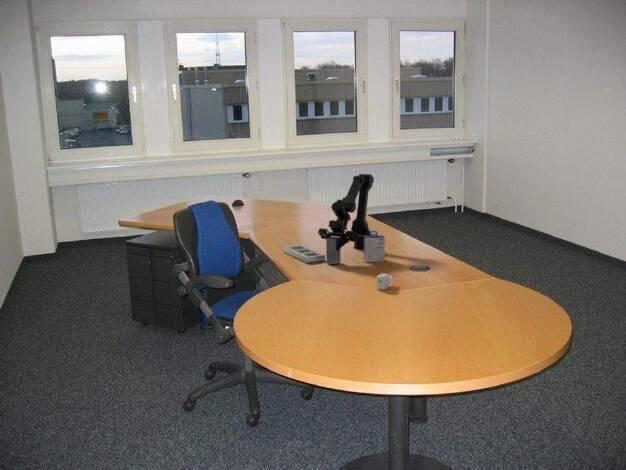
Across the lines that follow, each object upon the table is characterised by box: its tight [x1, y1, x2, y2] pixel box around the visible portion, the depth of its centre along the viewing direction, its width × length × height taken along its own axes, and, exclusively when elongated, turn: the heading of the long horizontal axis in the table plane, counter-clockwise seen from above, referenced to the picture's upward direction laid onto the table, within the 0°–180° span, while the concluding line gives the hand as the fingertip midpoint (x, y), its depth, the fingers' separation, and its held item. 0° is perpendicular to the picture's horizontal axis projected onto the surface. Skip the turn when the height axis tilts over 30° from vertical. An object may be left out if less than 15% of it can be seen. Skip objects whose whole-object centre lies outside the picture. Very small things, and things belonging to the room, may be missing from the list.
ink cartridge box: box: [363, 230, 386, 263], centre depth 296 cm, size 10×6×14 cm, turn 95°
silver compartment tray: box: [283, 244, 326, 265], centre depth 308 cm, size 26×10×3 cm, turn 27°
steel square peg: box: [325, 236, 342, 265], centre depth 292 cm, size 5×5×12 cm
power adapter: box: [375, 272, 395, 291], centre depth 255 cm, size 11×5×6 cm, turn 150°
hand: (332, 249), depth 291 cm, fingers closed on steel square peg, 5 cm apart
